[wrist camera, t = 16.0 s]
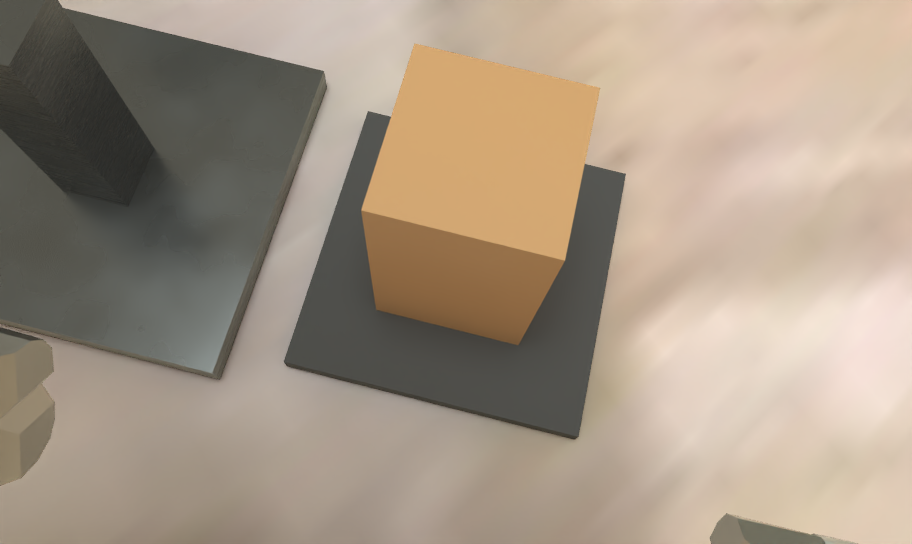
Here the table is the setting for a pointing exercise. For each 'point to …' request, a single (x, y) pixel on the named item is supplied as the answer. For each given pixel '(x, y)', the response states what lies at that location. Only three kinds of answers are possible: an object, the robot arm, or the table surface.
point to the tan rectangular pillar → (475, 192)
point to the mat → (452, 351)
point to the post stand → (139, 181)
